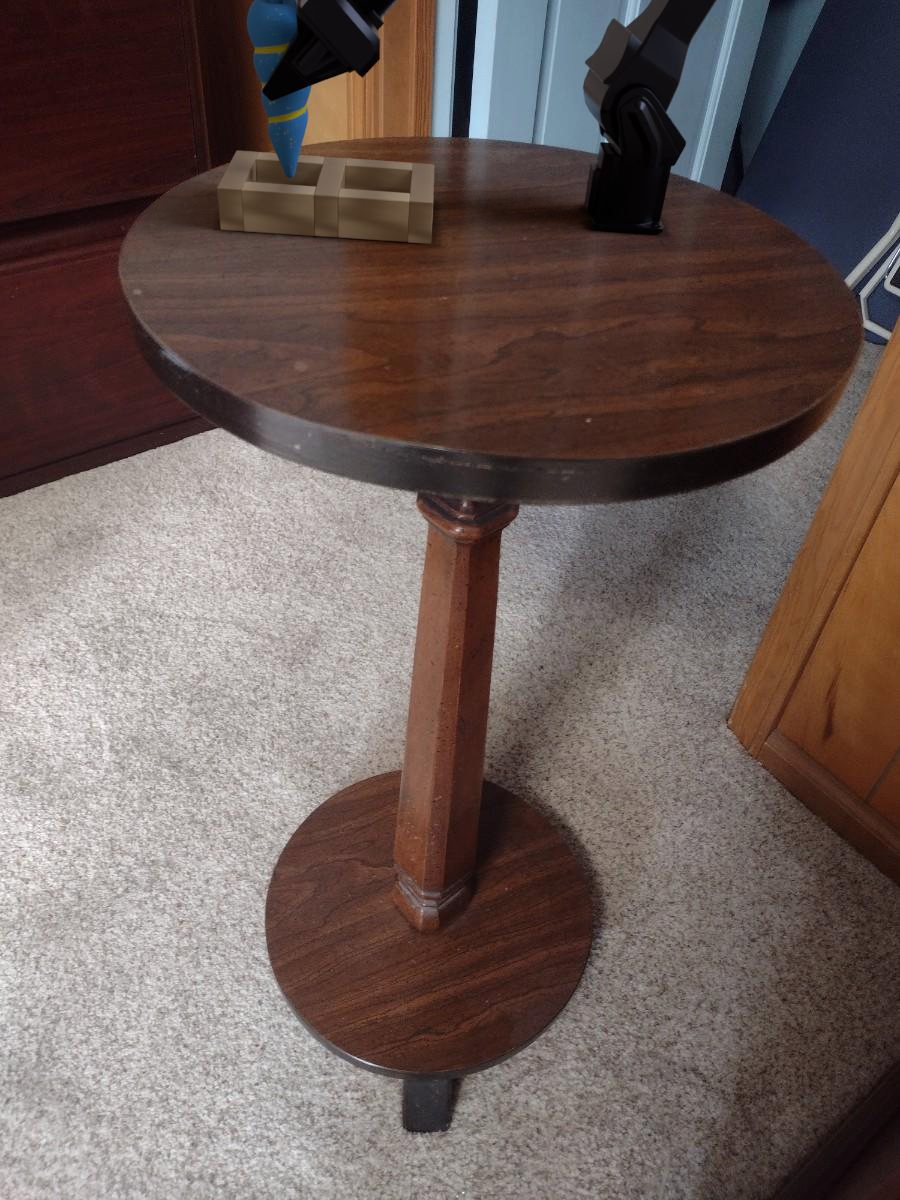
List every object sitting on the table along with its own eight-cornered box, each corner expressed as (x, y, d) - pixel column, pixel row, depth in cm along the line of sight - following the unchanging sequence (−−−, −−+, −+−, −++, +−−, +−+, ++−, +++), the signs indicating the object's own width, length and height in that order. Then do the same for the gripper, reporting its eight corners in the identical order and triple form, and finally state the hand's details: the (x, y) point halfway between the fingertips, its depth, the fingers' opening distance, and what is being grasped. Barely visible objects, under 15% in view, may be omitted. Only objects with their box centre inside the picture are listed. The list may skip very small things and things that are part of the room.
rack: (432, 203, 91) (434, 164, 89) (430, 244, 83) (433, 202, 81) (239, 189, 90) (236, 150, 88) (220, 230, 83) (216, 187, 80)
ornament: (300, 191, 82) (290, -15, 72) (246, 180, 83) (230, -24, 73) (327, 173, 86) (322, -26, 76) (276, 163, 87) (264, -34, 77)
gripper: (322, -176, 76) (195, -18, 82) (330, -156, 62) (177, 32, 68) (418, -52, 82) (294, 86, 88) (444, -9, 69) (295, 152, 75)
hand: (266, 87), depth 80 cm, fingers closed on ornament, 4 cm apart
